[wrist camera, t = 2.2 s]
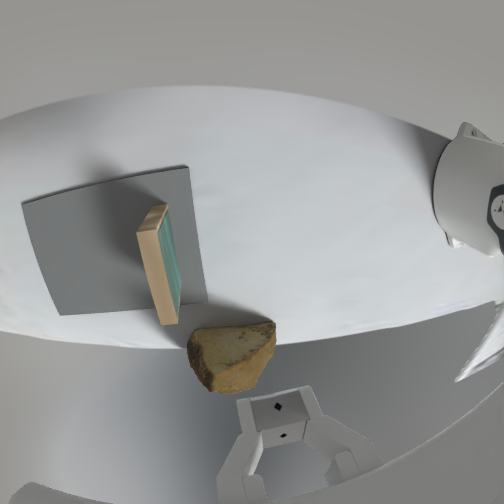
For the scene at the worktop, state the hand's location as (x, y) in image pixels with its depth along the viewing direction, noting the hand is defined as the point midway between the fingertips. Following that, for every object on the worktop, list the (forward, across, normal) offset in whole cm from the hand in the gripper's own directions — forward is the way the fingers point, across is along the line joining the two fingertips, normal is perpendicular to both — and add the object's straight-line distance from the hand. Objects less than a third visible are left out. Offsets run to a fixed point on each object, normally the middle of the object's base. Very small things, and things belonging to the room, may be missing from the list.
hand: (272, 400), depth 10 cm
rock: (+19, +1, +13) cm, 23 cm away
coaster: (+18, +6, 0) cm, 19 cm away
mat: (+18, +12, 0) cm, 22 cm away
